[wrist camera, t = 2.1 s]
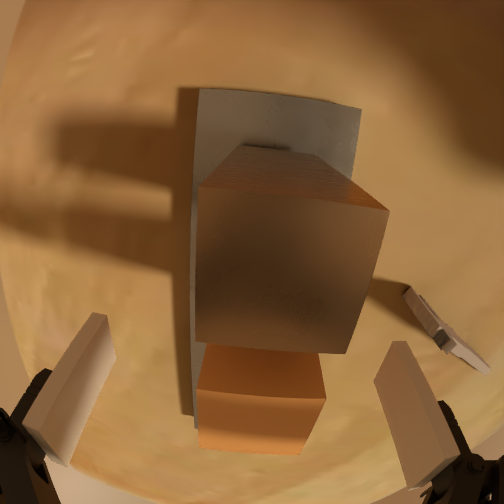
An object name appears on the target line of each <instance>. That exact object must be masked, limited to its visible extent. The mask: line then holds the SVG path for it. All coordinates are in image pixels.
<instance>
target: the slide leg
mask: <svg viewBox="0 0 504 504" xmlns="http://www.w3.org/2000/svg"><path fill="white" fill-rule="evenodd" d="M196 391H197V414H198V432H199V447H200V448H207V449H214V450H223V451H232V452H243V453H257V454H279V455H299V454H300V452H301V450H302V448H303V447H304V445H305V443H306V441H307V439H308V437H309V435H310V433H311V431H312V429H313V427H314V425H315V422H316V420H317V418H318V416H319V414H320V412H321V410H322V408H323V405H324V403H325V401H326V393H325V388H324V382H323V377H322V371H321V366H320V361H319V355H318V353H307V352H291V351H277V350H265V349H254V348H244V347H235V346H226V345H217V344H209V343H207V344H206V349H205V353H204V358H203V362H202V366H201V371H200V375H199V380H198V384H197V389H196Z"/></svg>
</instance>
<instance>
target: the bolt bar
mask: <svg viewBox="0 0 504 504" xmlns="http://www.w3.org/2000/svg"><path fill="white" fill-rule="evenodd" d="M361 111H362V109H358V108H354V107H349V106H345V105H340V104H335V103H329V102H324V101H318V100H313V99H306V98H300V97H293V96H286V95H278V94H270V93H261V92H250V91H238V90H223V89H199V100H198V110H197V122H196V134H195V148H194V163H193V181H192V202H191V230H190V345H191V373H192V393H193V410H194V425H195V428H197V429H198V414H197V391H196V389H197V384H198V380H199V375H200V371H201V366H202V362H203V358H204V353H205V349H206V344H207V343H209V344H217V345H226V346H235V347H244V348H254V349H265V350H277V351H291V352H307V353H329V354H345V353H346V351H347V348H348V346H349V343H350V340H351V338H352V335H353V332H354V330H355V327H356V324H357V321H358V318H359V316H360V313H361V310H362V307H363V304H364V301H365V298H366V295H367V292H368V288H369V285H370V282H371V279H372V276H373V272H374V269H375V265H376V262H377V259H378V255H379V251H380V248H381V244H382V240H383V237H384V233H385V229H386V225H387V221H388V217H389V213H390V211H389V210H388V209H387V208H386V207H384V206H383V205H382V204H381V203H379V202H378V201H377V200H376V199H374V198H373V197H372V196H371V195H369V194H368V193H367V192H365V191H364V190H363V189H362V188H360V187H359V186H358V185H356V184H355V183H354V182H352V181H351V176H352V170H353V165H354V159H355V152H356V146H357V139H358V133H359V126H360V118H361Z"/></svg>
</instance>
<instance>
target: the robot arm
mask: <svg viewBox="0 0 504 504" xmlns="http://www.w3.org/2000/svg"><path fill="white" fill-rule="evenodd" d="M115 360H116V355H115V351H114V347H113V342H112V338H111V333H110V328H109V323H108V318H107V315H103V314H98V313H92V314H91V315H90V317H89V318H88V320H87V321H86V322H85V324H84V325H83V327H82V328H81V330H80V331H79V332H78V334H77V335H76V337H75V338H74V340H73V341H72V343H71V344H70V346H69V347H68V349H67V350H66V352H65V353H64V355H63V356H62V358H61V359H60V361H59V362H58V364H57V365H56V367H55V368H54V370H53V371H52V370H49V369H46V368H45V369H43V370H42V371H41V372H39V373H38V374H37V375H36V376H35V377H34V379H33V380H32V382H31V383H30V386H29V387H28V388H27V390H26V393H24V394H23V396H22V398H21V399H20V401H19V403H18V405H17V406H16V407H15V409H14V411H13V412H12V414H11V416H10V417H9V415H8V414H7V413H6V412H5V410H4V409H3V408H0V504H61V503H60V500H59V498H58V495H57V493H56V490H55V488H54V485H53V483H52V480H51V477H50V474H49V472H48V469H47V466H46V463H45V461H44V458H45V455H47V456H48V457H49V458H50V459H51V460H52V461H54V462H56V463H58V464H61V465H63V466H65V467H68V465H69V462H70V460H71V457H72V455H73V453H74V450H75V448H76V445H77V443H78V441H79V438H80V436H81V434H82V431H83V429H84V427H85V424H86V422H87V420H88V418H89V415H90V413H91V411H92V409H93V406H94V404H95V402H96V400H97V398H98V396H99V393H100V391H101V389H102V387H103V385H104V383H105V381H106V379H107V377H108V375H109V373H110V370H111V368H112V366H113V364H114V362H115ZM374 384H375V386H376V389H377V392H378V395H379V398H380V401H381V404H382V406H383V409H384V412H385V415H386V418H387V421H388V424H389V427H390V431H391V434H392V437H393V440H394V443H395V446H396V450H397V453H398V456H399V460H400V463H401V466H402V470H403V473H404V477H405V480H406V484H407V488H408V490H412V489H416V488H420V487H423V486H425V485H426V484H427V483H428V482H430V481H431V482H432V486H431V487H429V488H428V489H427V490H426V491H424V492H423V493H422V494H421V495H420V497H423V496H424V495H425V494H427V495H426V497H425V499H424V501H423V503H422V504H504V455H503V456H502V457H500V458H499V459H498V460H484V459H483V458H482V457H481V456H479V455H478V454H474V453H473V454H472V453H471V451H470V449H469V447H468V444H467V442H466V440H465V438H464V435H463V433H462V431H461V429H460V427H459V426H458V422H457V420H456V419H455V416H454V414H453V412H452V410H451V408H450V407H449V406H448V405H447V404H446V403H445V402H444V401H443V400H442V401H437V400H436V398H435V396H434V394H433V392H432V390H431V388H430V386H429V384H428V382H427V380H426V378H425V376H424V374H423V372H422V370H421V368H420V366H419V364H418V362H417V361H416V359H415V357H414V355H413V353H412V351H411V349H410V347H409V346H408V344H407V342H406V341H393V342H392V344H391V346H390V348H389V350H388V353H387V355H386V357H385V359H384V361H383V363H382V365H381V367H380V369H379V371H378V373H377V375H376V377H375V379H374ZM491 494H492V496H491V500H490V497H489V496H490V495H491Z"/></svg>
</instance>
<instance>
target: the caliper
mask: <svg viewBox="0 0 504 504" xmlns="http://www.w3.org/2000/svg"><path fill="white" fill-rule="evenodd" d="M402 296H403V298H404V299H405V301H406V303H407V304H408V306H409V307H410V309H411V310H412V312H413V313H414V315H415V316H416V318H417V319H418V320H419V322H420V323H421V325H422V326H423V327H424V329H425V330H426V332H427V333H428V334H429V336H430V337H431V338H433V339H434V341H435V342H436V344H437V345H438V347H439V348H440V350H442V349H443V350H444V351H445V353H446V354H448V353H449V352H452V353H453V354H455V355H456V356H458V357H459V358H460V357H461V358H463V359H464V360H465V361H467V362H468V363H469V364H471V365H472V366H473V367H475V368H476V369H477V370H478V371H480V372H481V373H482V374H484V375H485V376H486V375H487V374H488V373H489V372H490V371H491V368H490V366H489V365H488V364H487V363H486V362H485V361H484V360H483V359H482V358H481V357H480V356H479V355H478V354H477V353H476V352H475V351H474V350H473V349H472V348H471V347H470V346H468V345H467V344H466V343H465V342H464V341H463V340H462V339H461V338H460V337H459V336H458V335H457V334H456V333H455V332H454V330H453V329H452V328H451V327H449V326H448V324H446V323H444V322H443V321H442V320H441V319H440V317H439V316H438V315H437V314H436V312H435V311H434V310H433V309H432V308H431V306H430V305H429V304H428V303H427V302H426V300H425V299H424V298H423V297H422V296H421V295H420V296H419V295H418V294H417V293H416V291H415V290H414V289H413V288H412V287H410V288H409V289H408V290H407V291H406V292H405V293H404V294H403V295H402Z"/></svg>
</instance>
